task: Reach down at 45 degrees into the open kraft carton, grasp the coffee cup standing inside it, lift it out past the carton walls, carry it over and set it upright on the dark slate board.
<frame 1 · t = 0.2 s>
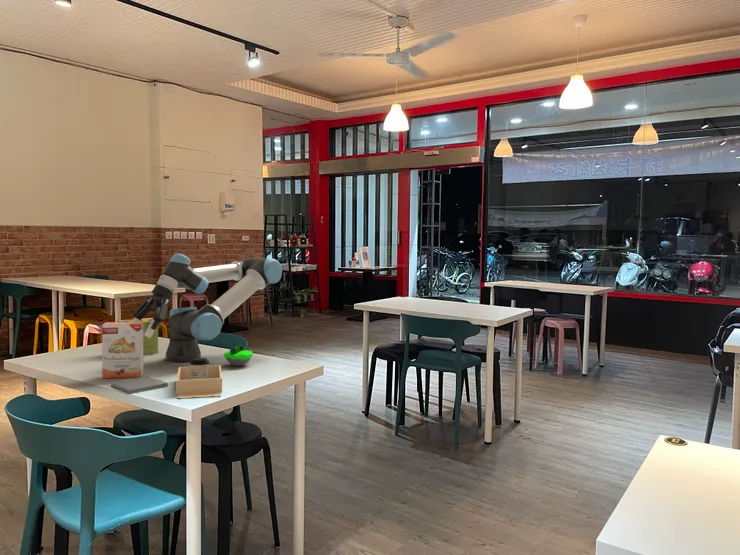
hand: (138, 335, 216), 16 cm above the table, tool tilted 35°, fingers open, 13 cm apart
protein box: (138, 353, 257), on the table
slate board: (139, 386, 200), on the table
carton: (199, 386, 202), on the table
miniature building: (238, 365, 237), on the table
coffee cup: (199, 386, 202), resting in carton
cracker box: (123, 377, 213), on the table
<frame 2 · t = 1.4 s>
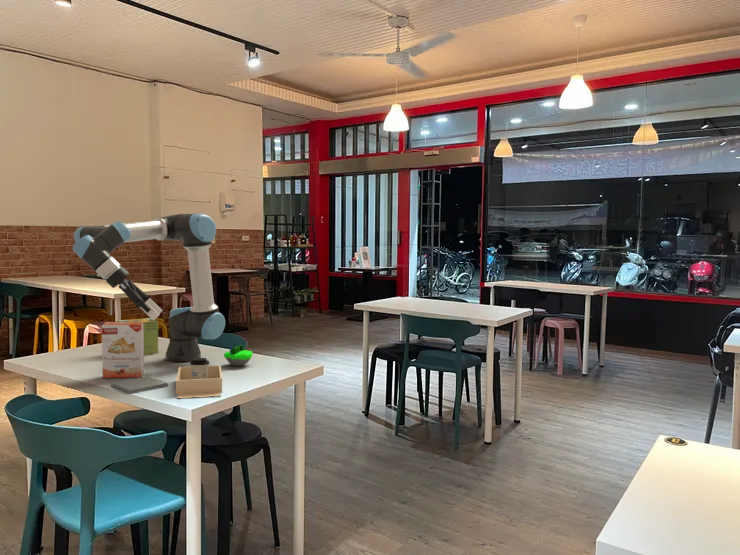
hand: (158, 315, 199), 26 cm above the table, tool tilted 45°, fingers open, 13 cm apart
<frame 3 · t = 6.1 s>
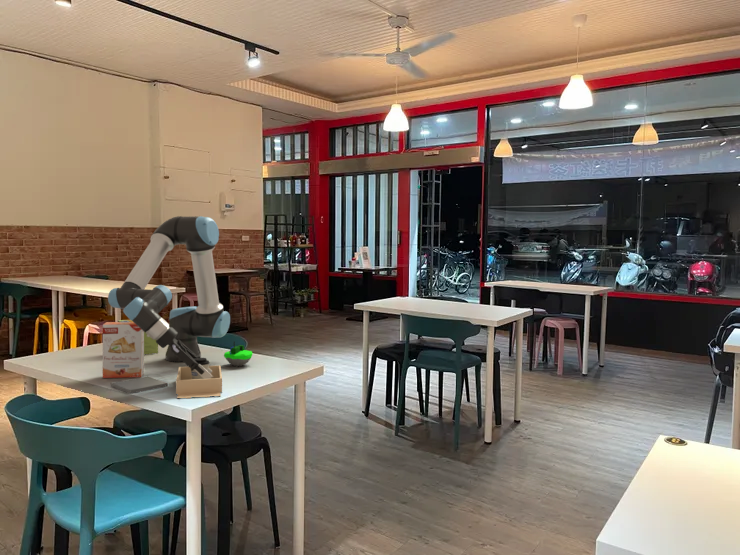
hand: (209, 376, 202), 3 cm above the table, tool tilted 45°, fingers closed on coffee cup, 7 cm apart
coffee cup: (199, 386, 202), resting in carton, touching gripper
when the fingers open (6 cm above the table, at t = 11.5 s): coffee cup drops 1 cm, resting on slate board.
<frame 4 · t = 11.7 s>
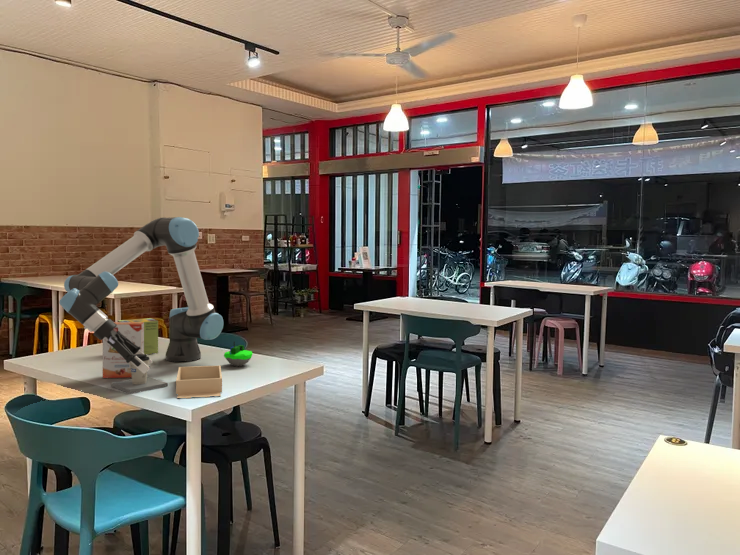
hand: (148, 367, 200), 7 cm above the table, tool tilted 45°, fingers open, 10 cm apart
coffee cup: (139, 383, 200), point 1 cm above the table, touching slate board
everything else where it was.
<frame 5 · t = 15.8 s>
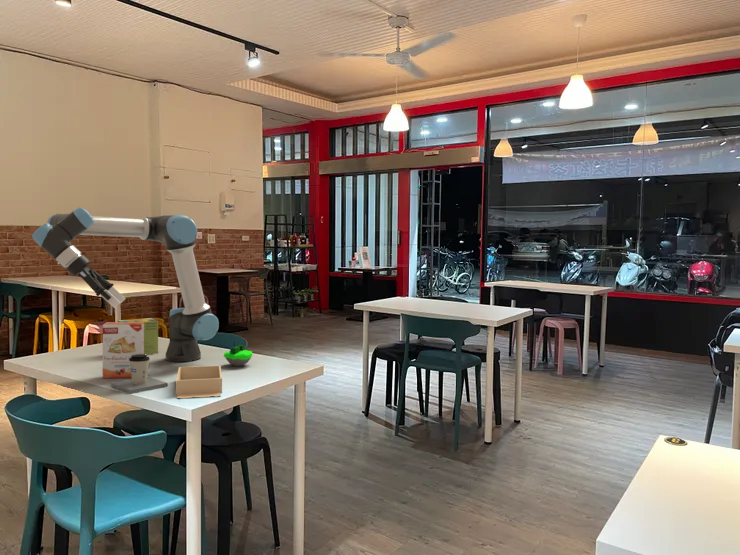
hand: (120, 303, 200), 30 cm above the table, tool tilted 45°, fingers open, 13 cm apart
nothing on the table moved.
at the end: coffee cup inside the target area on the slate board (0.2 cm from its centre), point 1.0 cm above the slate board's base; coffee cup tilted 0°; the gripper is holding nothing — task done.
